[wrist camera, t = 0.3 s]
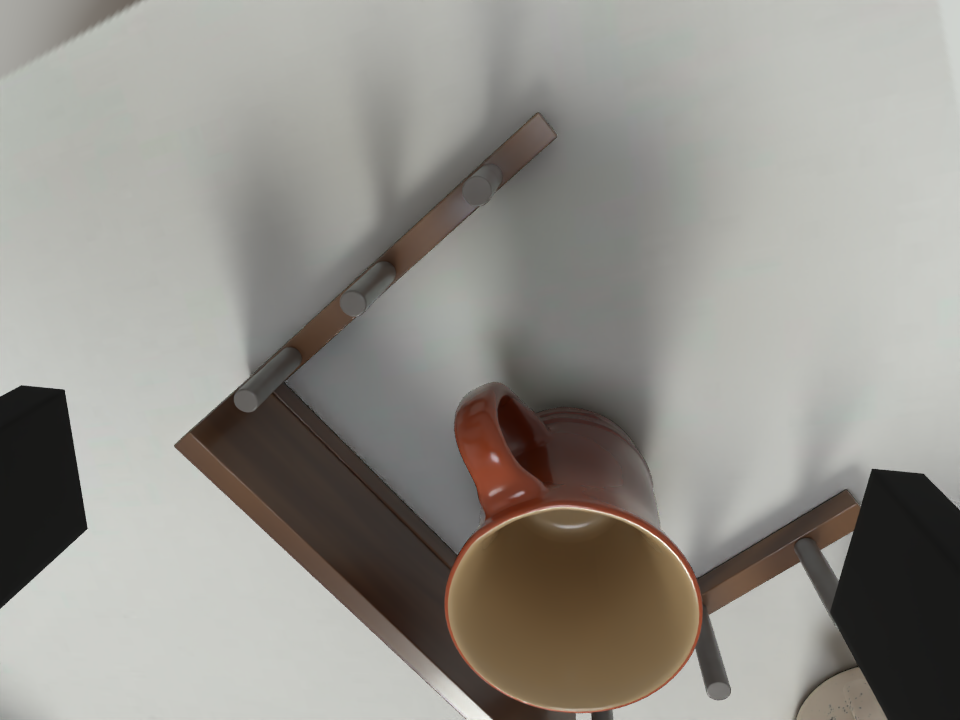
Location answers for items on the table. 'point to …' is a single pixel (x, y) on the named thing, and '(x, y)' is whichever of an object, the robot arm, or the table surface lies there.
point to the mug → (565, 561)
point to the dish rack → (390, 522)
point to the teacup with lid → (842, 699)
